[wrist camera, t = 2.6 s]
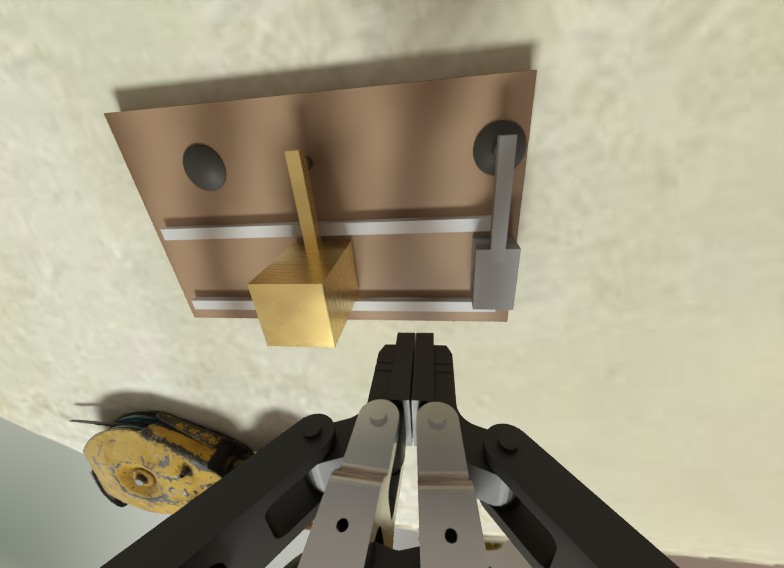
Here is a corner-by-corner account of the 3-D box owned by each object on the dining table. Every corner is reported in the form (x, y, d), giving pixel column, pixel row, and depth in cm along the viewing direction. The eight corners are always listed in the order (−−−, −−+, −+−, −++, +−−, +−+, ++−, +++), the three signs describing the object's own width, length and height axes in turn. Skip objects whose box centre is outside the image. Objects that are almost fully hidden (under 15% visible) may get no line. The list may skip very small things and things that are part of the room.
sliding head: (337, 145, 18) (296, 158, 13) (358, 293, 23) (334, 347, 17) (272, 149, 19) (207, 164, 13) (306, 293, 23) (267, 345, 18)
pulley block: (321, 554, 33) (85, 525, 38) (338, 500, 38) (130, 480, 43) (297, 451, 28) (33, 432, 33) (321, 406, 34) (90, 396, 39)
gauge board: (530, 72, 16) (551, 63, 13) (503, 312, 23) (513, 342, 20) (121, 113, 20) (64, 113, 17) (203, 309, 27) (174, 334, 24)
